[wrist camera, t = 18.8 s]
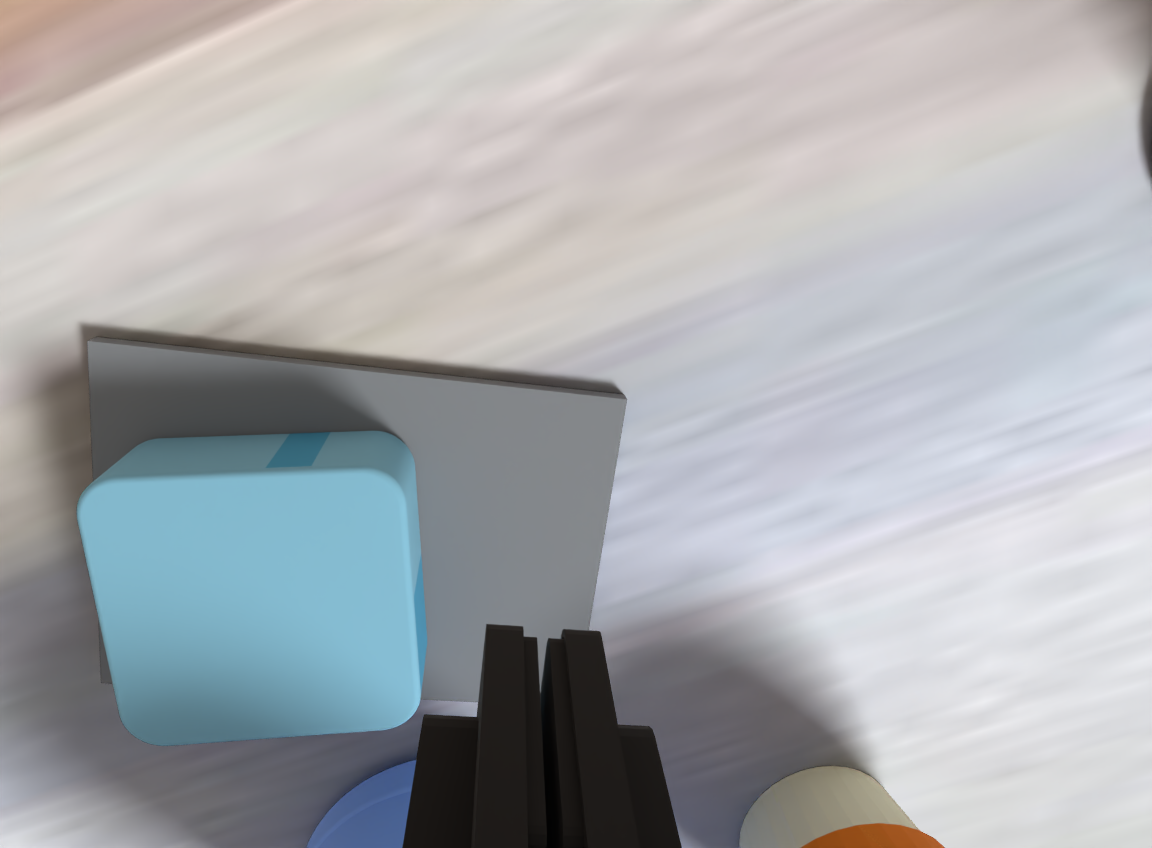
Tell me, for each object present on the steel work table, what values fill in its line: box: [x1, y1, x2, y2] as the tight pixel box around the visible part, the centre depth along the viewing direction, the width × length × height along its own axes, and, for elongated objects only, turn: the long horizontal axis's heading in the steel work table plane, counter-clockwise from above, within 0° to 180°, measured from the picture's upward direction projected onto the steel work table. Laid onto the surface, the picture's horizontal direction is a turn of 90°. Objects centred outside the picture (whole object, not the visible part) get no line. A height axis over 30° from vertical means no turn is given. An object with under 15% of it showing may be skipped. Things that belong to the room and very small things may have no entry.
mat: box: [87, 337, 627, 702], centre depth 36 cm, size 22×16×1 cm
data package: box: [77, 431, 427, 746], centre depth 34 cm, size 12×4×12 cm
